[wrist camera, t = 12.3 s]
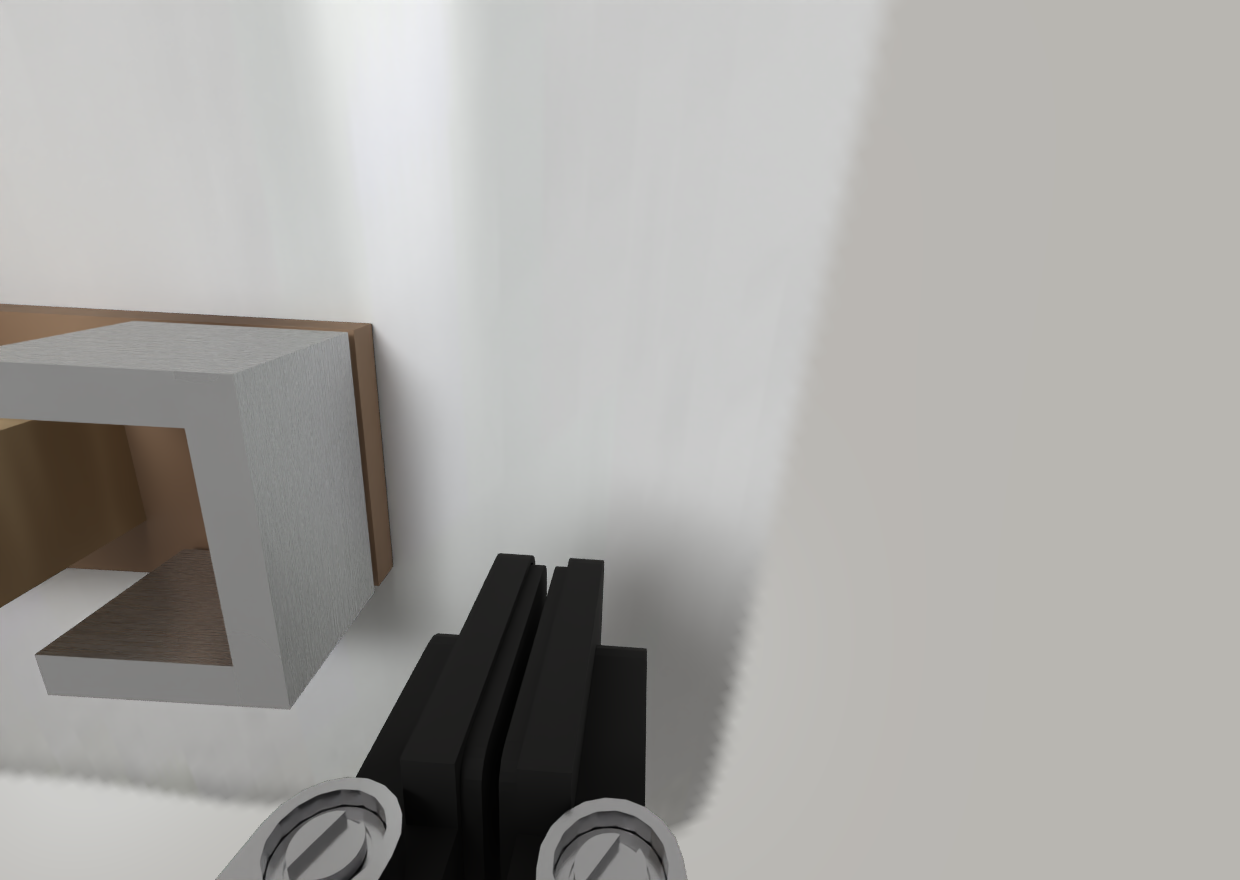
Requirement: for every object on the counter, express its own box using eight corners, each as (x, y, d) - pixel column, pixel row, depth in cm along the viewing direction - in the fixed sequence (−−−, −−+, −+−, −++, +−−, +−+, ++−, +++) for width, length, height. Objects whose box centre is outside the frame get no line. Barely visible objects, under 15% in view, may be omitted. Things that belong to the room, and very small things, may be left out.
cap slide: (190, 581, 16) (47, 694, 12) (133, 320, 14) (-66, 358, 10) (374, 592, 16) (289, 709, 12) (347, 332, 14) (233, 374, 10)
